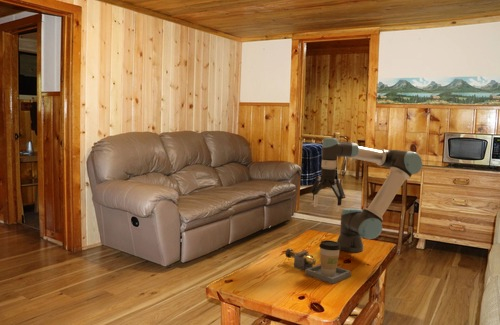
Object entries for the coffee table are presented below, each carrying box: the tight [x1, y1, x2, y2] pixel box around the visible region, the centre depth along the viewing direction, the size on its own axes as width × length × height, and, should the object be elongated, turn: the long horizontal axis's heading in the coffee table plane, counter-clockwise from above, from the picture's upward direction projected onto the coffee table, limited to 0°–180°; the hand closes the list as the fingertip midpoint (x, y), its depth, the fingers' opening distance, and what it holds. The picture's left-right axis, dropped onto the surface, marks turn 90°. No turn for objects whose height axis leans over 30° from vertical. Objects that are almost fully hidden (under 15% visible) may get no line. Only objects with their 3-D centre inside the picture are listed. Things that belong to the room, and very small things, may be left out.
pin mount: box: [293, 249, 314, 272], centre depth 200 cm, size 7×6×7 cm
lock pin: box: [284, 248, 317, 266], centre depth 201 cm, size 4×16×4 cm, turn 44°
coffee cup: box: [318, 239, 341, 277], centre depth 190 cm, size 10×10×15 cm
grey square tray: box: [304, 263, 352, 285], centre depth 191 cm, size 15×15×2 cm
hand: (326, 209), depth 210 cm, fingers open, 13 cm apart
